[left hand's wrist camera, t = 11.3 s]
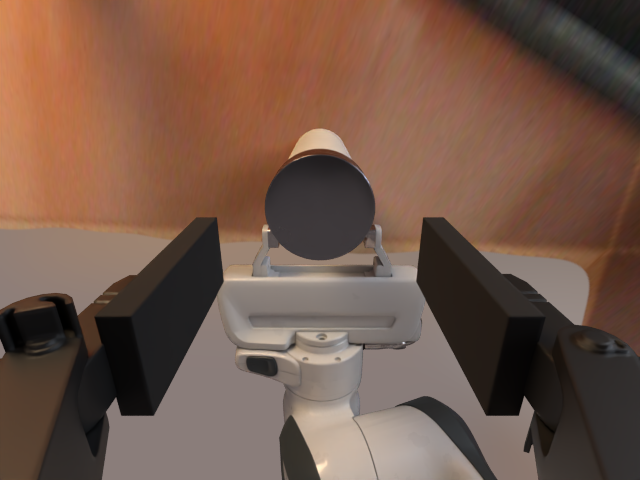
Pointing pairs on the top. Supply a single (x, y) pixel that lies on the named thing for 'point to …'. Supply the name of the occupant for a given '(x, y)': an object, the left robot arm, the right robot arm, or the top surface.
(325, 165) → the lid
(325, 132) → the white cylindrical bottle
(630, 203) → the top surface
